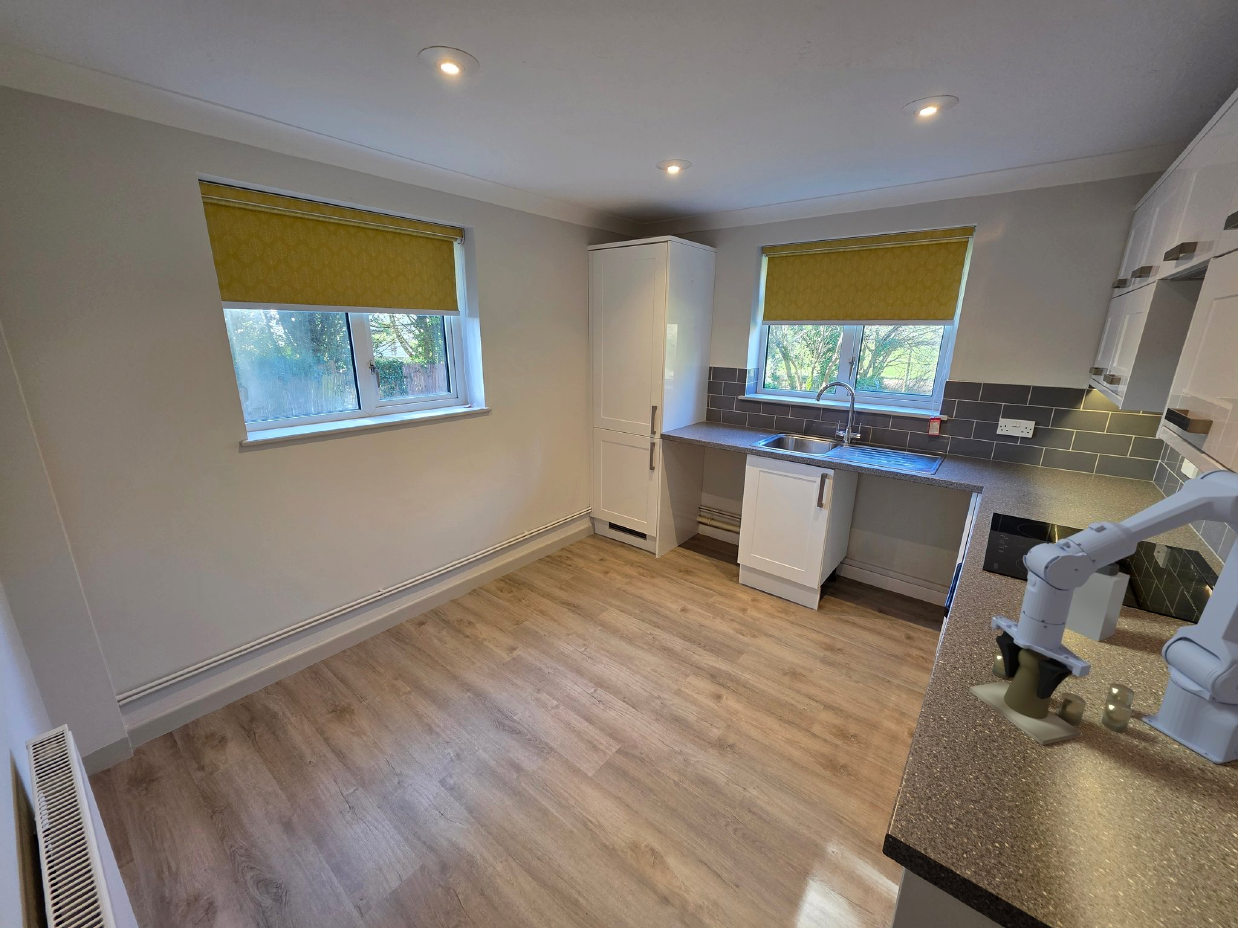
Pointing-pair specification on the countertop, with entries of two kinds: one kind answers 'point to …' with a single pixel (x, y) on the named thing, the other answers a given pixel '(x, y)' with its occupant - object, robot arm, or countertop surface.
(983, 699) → the pale grey metal board
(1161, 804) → the countertop surface
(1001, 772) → the countertop surface
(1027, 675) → the cork
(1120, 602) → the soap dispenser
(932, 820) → the countertop surface
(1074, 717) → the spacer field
